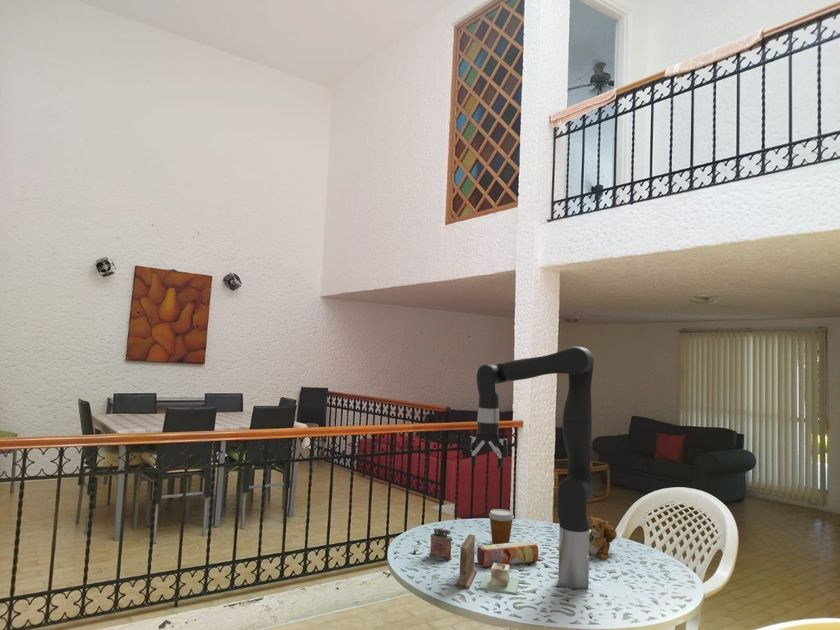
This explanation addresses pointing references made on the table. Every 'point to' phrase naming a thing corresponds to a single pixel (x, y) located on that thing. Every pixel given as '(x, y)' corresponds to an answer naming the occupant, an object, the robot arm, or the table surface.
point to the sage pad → (509, 589)
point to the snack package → (507, 553)
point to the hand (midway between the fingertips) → (486, 467)
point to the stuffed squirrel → (600, 538)
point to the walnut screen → (467, 563)
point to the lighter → (441, 544)
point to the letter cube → (500, 574)
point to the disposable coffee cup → (500, 525)
